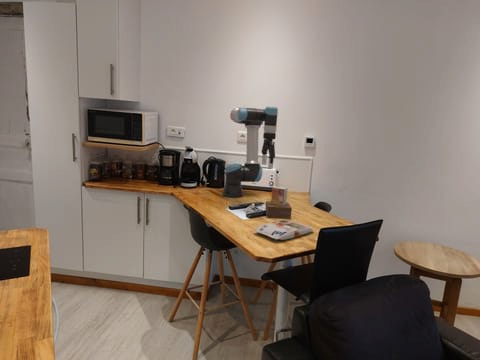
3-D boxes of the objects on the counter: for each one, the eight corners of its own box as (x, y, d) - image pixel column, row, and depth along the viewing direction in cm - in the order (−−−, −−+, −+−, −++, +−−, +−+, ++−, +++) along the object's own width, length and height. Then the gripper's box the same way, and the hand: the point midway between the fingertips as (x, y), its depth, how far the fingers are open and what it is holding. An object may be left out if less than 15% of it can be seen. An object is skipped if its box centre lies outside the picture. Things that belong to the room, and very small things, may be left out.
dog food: (288, 224, 203) (289, 216, 202) (315, 233, 190) (316, 224, 189) (250, 234, 183) (251, 224, 182) (278, 244, 170) (278, 234, 169)
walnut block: (265, 212, 226) (265, 201, 225) (287, 213, 227) (288, 202, 225) (267, 218, 213) (267, 206, 211) (290, 219, 213) (291, 208, 212)
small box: (270, 204, 218) (272, 187, 216) (273, 202, 223) (275, 185, 221) (283, 206, 215) (284, 189, 213) (286, 204, 219) (287, 187, 218)
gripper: (258, 130, 231) (255, 162, 236) (270, 134, 207) (267, 170, 212) (269, 130, 233) (266, 163, 237) (282, 134, 209) (279, 170, 214)
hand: (267, 166), depth 225 cm, fingers open, 13 cm apart
